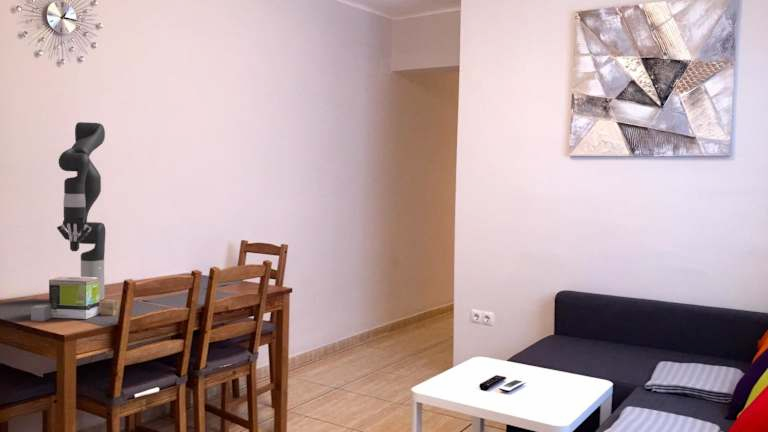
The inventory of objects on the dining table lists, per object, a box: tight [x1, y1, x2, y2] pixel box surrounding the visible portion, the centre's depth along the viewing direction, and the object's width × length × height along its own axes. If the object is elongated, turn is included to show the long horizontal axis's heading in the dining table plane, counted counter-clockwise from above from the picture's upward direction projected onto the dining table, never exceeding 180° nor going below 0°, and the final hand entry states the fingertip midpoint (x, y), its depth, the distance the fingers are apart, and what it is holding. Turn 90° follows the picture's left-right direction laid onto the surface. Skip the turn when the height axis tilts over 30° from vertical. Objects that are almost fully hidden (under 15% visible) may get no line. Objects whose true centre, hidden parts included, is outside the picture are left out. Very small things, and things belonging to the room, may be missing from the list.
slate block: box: [30, 304, 53, 322], centre depth 244 cm, size 5×5×5 cm
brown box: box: [100, 299, 120, 316], centre depth 256 cm, size 5×5×5 cm
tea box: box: [48, 275, 101, 320], centre depth 250 cm, size 15×10×15 cm, turn 84°
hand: (74, 251), depth 249 cm, fingers closed
